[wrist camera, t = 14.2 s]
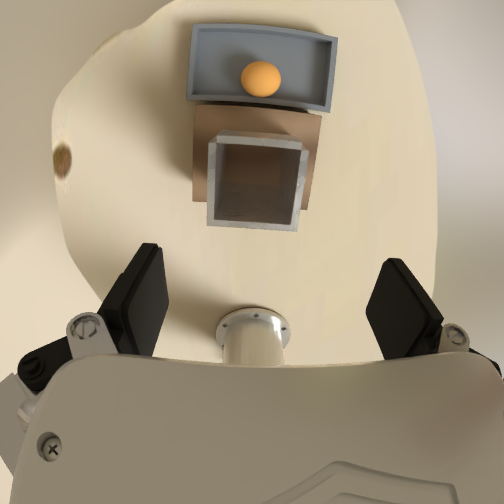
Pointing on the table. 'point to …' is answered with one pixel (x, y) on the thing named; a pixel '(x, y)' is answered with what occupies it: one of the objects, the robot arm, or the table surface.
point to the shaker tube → (256, 185)
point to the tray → (261, 49)
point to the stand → (251, 156)
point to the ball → (260, 79)
